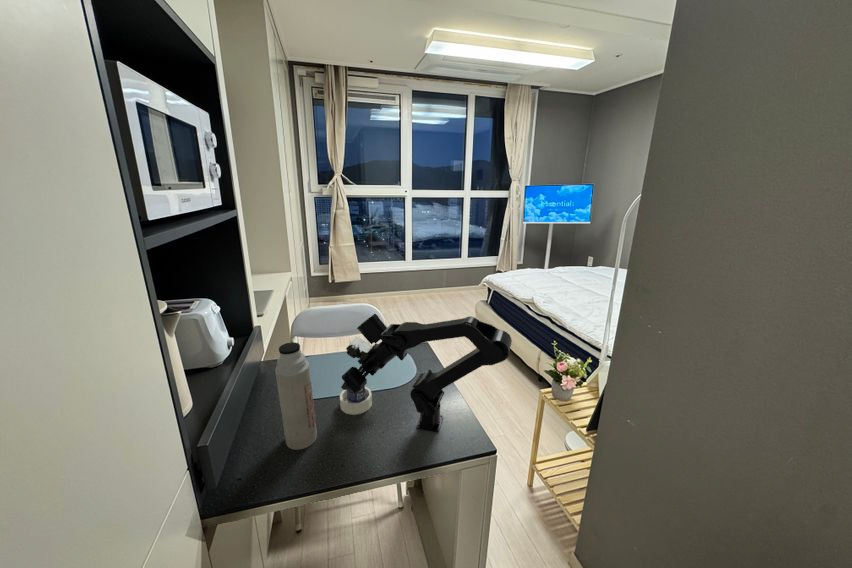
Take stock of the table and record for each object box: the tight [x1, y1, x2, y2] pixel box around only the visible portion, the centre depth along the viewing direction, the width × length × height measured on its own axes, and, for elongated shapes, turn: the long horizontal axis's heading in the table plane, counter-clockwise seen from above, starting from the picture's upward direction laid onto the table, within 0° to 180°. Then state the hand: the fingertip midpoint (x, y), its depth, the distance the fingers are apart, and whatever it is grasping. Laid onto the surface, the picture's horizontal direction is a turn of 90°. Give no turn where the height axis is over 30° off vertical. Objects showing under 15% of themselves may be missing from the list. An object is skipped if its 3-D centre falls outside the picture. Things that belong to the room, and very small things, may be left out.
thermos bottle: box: [274, 341, 318, 451], centre depth 90 cm, size 8×8×28 cm
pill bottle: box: [347, 385, 366, 403], centre depth 106 cm, size 5×5×10 cm
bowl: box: [339, 386, 373, 416], centre depth 107 cm, size 10×10×4 cm
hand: (350, 379), depth 105 cm, fingers open, 9 cm apart
